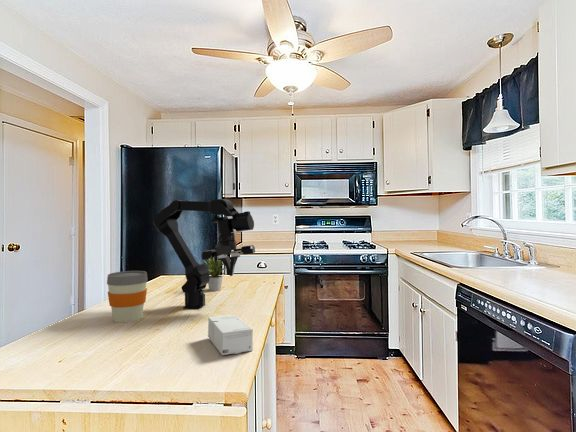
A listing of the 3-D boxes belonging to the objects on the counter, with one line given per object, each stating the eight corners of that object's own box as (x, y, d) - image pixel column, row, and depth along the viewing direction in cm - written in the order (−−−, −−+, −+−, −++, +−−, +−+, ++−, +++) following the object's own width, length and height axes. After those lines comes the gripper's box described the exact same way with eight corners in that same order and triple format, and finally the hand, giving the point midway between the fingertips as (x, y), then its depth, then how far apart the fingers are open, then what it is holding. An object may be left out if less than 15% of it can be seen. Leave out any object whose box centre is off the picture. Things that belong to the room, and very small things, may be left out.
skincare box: (234, 313, 103) (254, 327, 90) (234, 334, 103) (254, 351, 90) (206, 317, 99) (222, 331, 86) (206, 338, 99) (222, 356, 86)
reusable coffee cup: (156, 315, 122) (155, 272, 122) (125, 325, 111) (125, 278, 111) (129, 311, 128) (129, 269, 127) (98, 321, 116) (97, 275, 116)
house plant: (227, 294, 154) (227, 256, 154) (196, 294, 154) (195, 256, 154) (233, 287, 168) (233, 252, 168) (204, 287, 168) (204, 253, 168)
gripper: (194, 237, 122) (199, 282, 121) (247, 230, 121) (252, 276, 120) (203, 236, 133) (208, 277, 133) (252, 229, 132) (257, 271, 131)
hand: (231, 275), depth 129 cm, fingers closed
